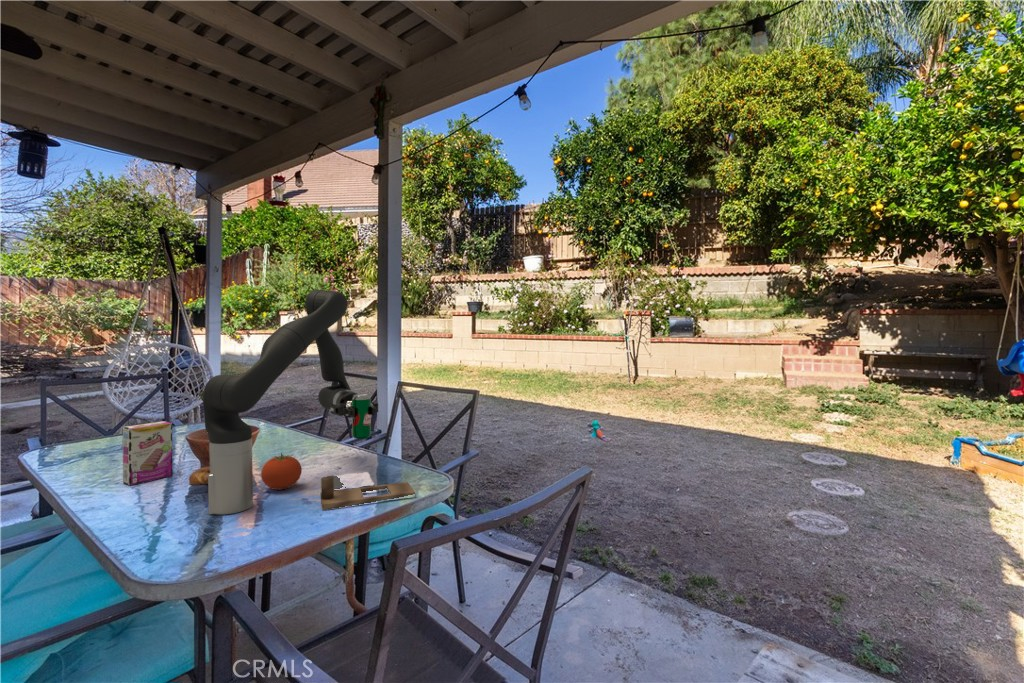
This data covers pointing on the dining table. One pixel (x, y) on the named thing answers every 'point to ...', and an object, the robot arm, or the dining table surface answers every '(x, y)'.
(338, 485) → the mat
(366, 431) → the soda can
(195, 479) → the pretzel
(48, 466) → the dining table surface
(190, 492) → the dining table surface
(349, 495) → the plane body
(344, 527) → the dining table surface
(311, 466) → the dining table surface
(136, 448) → the candy bar box
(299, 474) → the tomato
